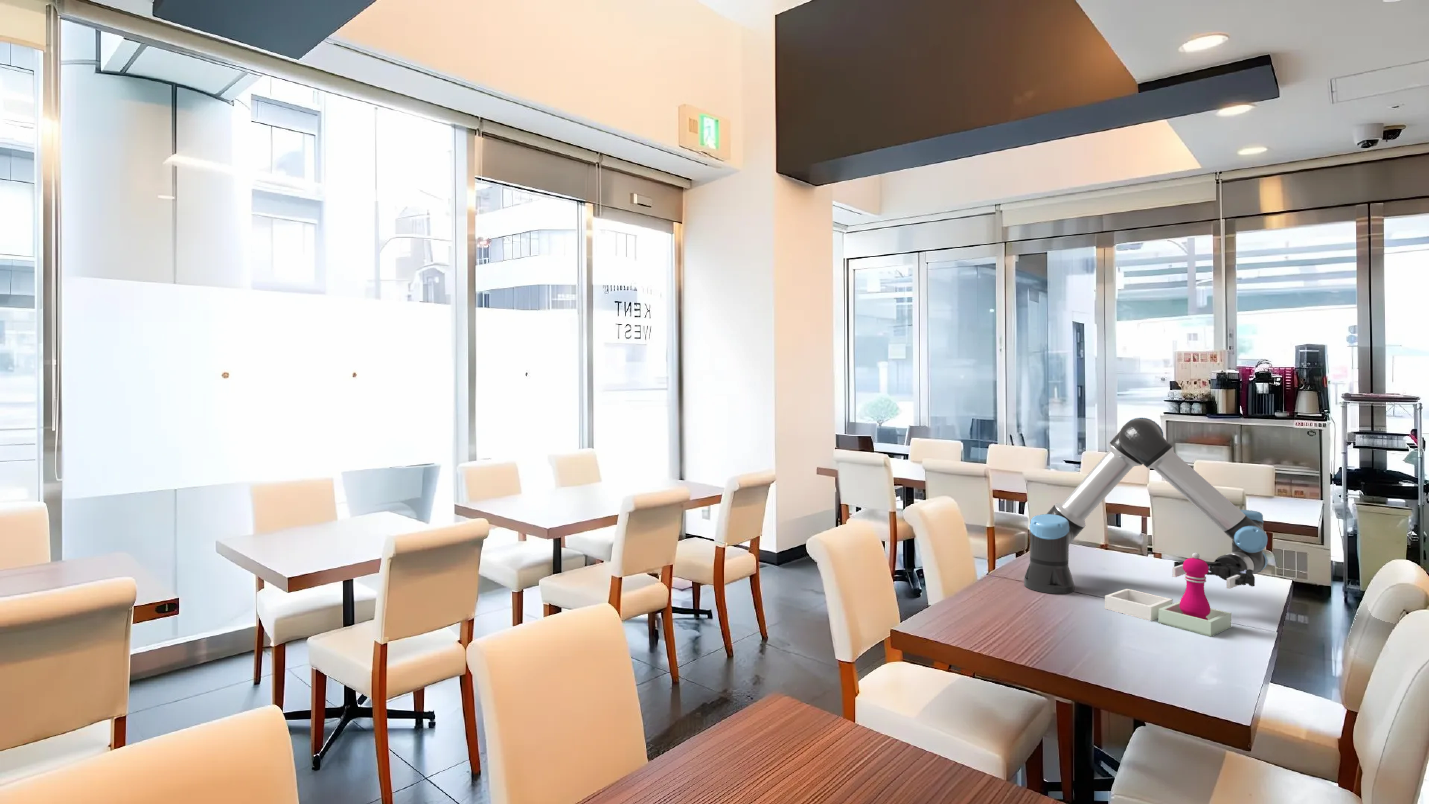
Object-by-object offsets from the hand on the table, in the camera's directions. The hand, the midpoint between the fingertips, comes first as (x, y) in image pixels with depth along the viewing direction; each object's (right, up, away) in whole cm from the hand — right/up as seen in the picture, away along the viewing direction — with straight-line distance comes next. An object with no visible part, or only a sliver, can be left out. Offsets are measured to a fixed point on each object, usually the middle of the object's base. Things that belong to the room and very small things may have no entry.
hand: (1200, 577), depth 198 cm
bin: (-10, -13, +12) cm, 20 cm away
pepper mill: (-2, -13, 0) cm, 13 cm away
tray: (-2, -13, 0) cm, 13 cm away
